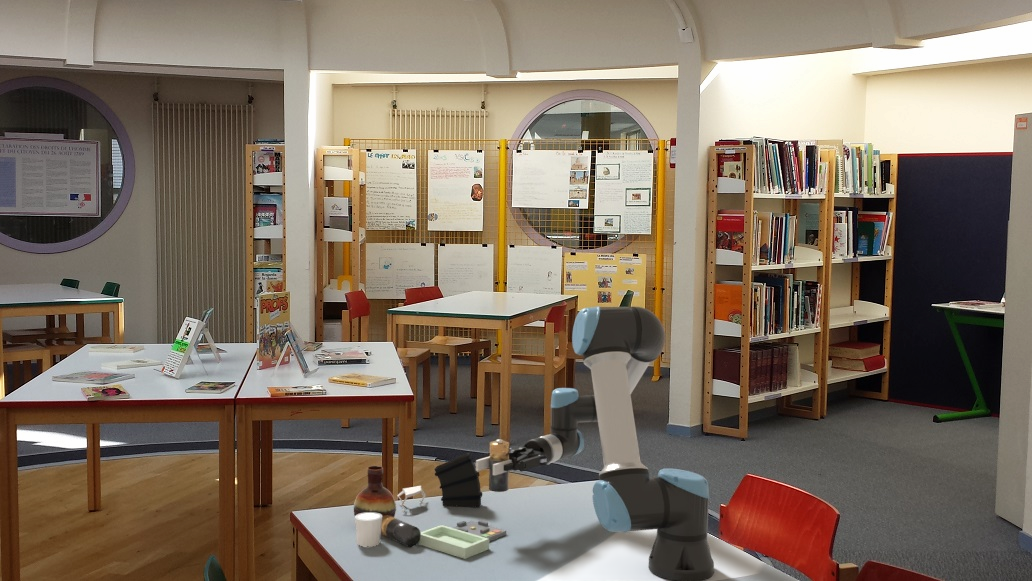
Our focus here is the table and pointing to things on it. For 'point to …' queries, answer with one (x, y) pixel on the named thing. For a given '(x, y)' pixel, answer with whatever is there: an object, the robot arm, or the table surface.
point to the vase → (375, 495)
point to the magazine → (459, 482)
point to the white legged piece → (411, 494)
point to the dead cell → (400, 531)
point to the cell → (498, 454)
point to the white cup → (368, 528)
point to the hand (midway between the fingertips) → (485, 467)
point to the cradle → (480, 529)
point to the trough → (453, 541)
